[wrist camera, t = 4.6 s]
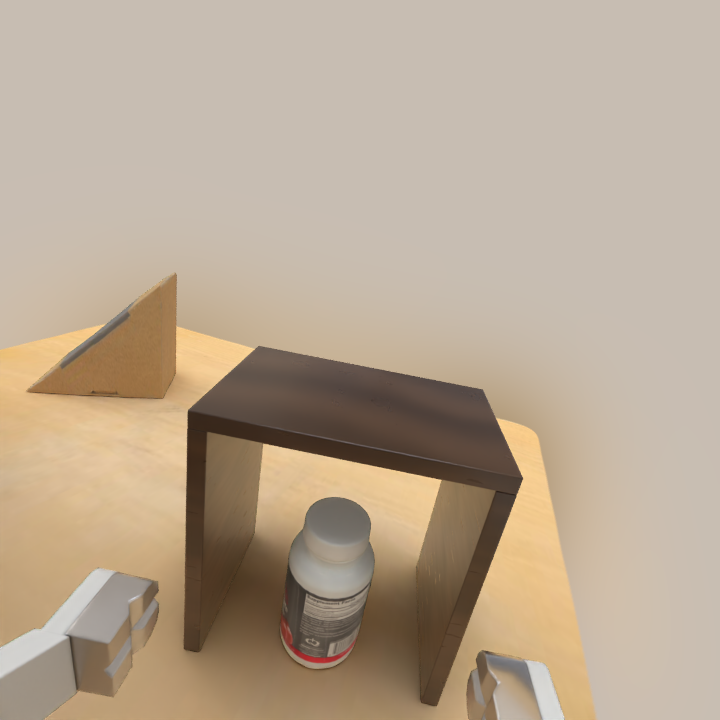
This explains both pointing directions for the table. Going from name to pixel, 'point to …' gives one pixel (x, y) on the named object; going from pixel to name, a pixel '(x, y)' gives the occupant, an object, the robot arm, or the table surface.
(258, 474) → the arch
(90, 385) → the sandwich container
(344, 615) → the pill bottle
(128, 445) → the table surface
